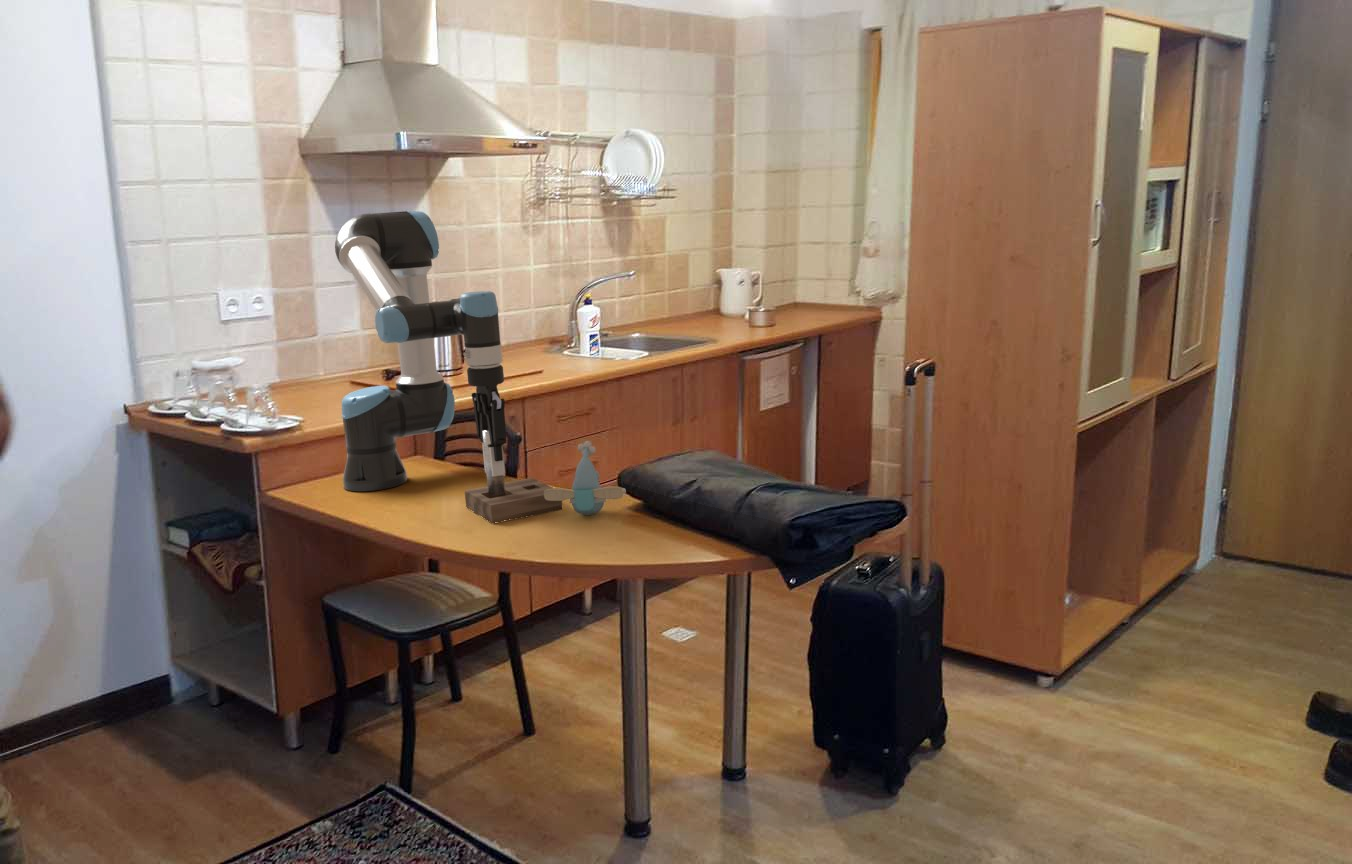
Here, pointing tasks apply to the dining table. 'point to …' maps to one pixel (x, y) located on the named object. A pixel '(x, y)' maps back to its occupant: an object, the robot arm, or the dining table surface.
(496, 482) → the pin
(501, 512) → the block
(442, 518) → the dining table surface
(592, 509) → the toy figure
